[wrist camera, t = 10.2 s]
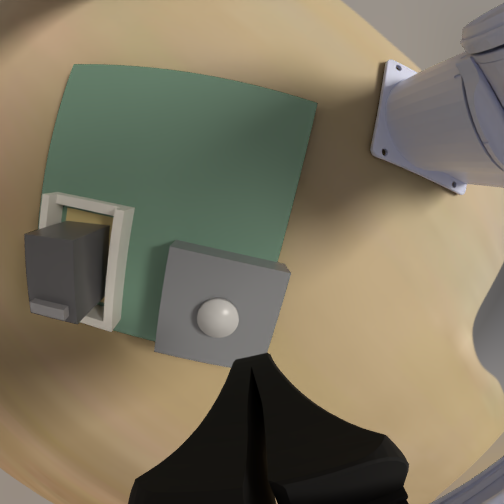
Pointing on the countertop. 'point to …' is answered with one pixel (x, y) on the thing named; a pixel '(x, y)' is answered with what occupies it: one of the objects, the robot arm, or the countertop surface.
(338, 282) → the countertop surface
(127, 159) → the board
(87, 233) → the plug
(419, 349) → the countertop surface
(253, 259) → the grey knob block
